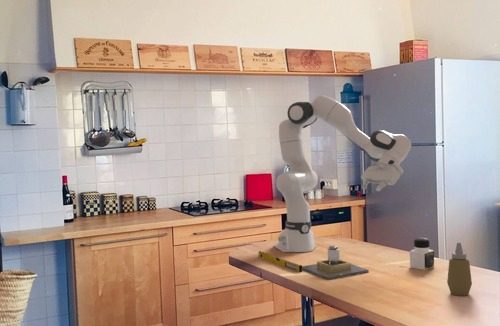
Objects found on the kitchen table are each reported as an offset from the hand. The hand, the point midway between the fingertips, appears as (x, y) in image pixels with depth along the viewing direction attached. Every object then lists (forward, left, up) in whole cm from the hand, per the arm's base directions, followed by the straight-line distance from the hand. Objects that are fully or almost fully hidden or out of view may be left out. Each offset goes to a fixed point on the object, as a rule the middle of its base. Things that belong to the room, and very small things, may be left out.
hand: (370, 189), depth 247 cm
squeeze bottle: (+56, -6, -32) cm, 65 cm away
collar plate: (+6, -24, -31) cm, 40 cm away
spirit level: (-17, -38, -32) cm, 52 cm away
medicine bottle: (+22, +9, -32) cm, 39 cm away
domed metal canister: (+6, -24, -30) cm, 39 cm away
